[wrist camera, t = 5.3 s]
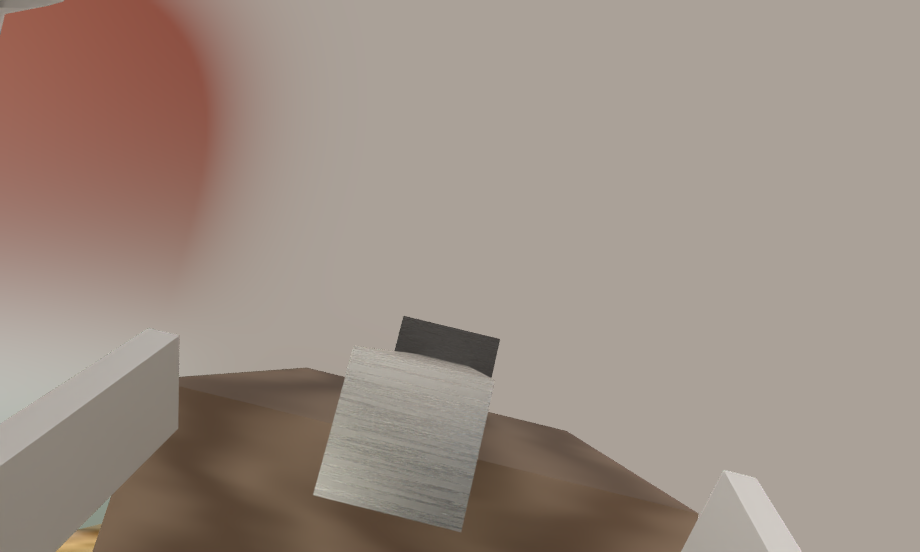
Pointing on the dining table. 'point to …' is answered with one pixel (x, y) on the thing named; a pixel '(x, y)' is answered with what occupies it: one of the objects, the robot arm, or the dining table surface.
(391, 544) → the pedestal
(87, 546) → the dining table surface
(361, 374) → the light grey rectangular bar
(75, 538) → the dining table surface
